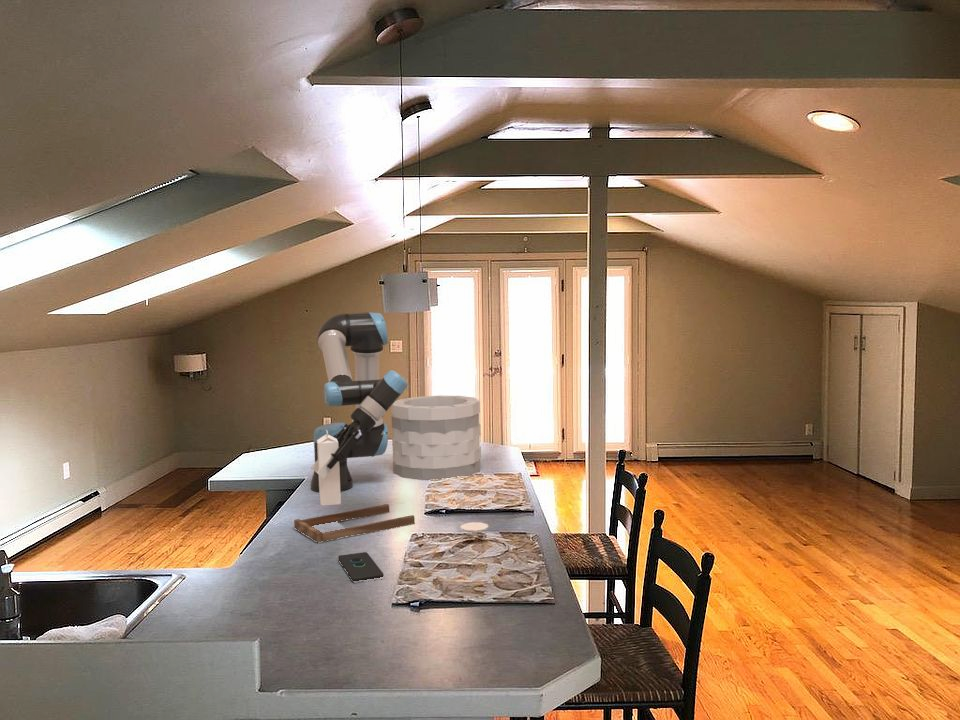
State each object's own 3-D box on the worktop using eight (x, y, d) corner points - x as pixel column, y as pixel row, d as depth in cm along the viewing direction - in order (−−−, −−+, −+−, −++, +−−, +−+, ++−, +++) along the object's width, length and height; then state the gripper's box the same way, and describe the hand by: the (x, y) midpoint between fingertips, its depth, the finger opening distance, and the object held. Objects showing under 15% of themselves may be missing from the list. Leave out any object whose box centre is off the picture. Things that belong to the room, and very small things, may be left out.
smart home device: (367, 551, 234) (384, 574, 216) (367, 557, 235) (385, 580, 216) (337, 555, 232) (352, 578, 213) (337, 561, 232) (352, 585, 213)
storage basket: (482, 459, 355) (480, 394, 352) (480, 479, 320) (478, 407, 317) (398, 461, 356) (396, 396, 353) (387, 481, 321) (384, 409, 318)
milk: (339, 499, 261) (336, 428, 259) (341, 504, 255) (338, 431, 253) (319, 501, 259) (316, 429, 257) (320, 506, 254) (317, 432, 252)
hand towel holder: (452, 546, 228) (443, 524, 248) (452, 562, 228) (443, 539, 249) (514, 541, 231) (500, 520, 251) (514, 557, 231) (501, 534, 251)
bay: (294, 529, 261) (294, 519, 261) (387, 511, 279) (387, 502, 278) (317, 543, 246) (317, 533, 246) (414, 523, 264) (414, 514, 264)
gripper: (386, 427, 252) (334, 487, 247) (367, 417, 270) (318, 474, 265) (368, 411, 250) (315, 472, 245) (350, 402, 268) (300, 459, 263)
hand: (317, 473), depth 255 cm, fingers closed on milk, 7 cm apart
